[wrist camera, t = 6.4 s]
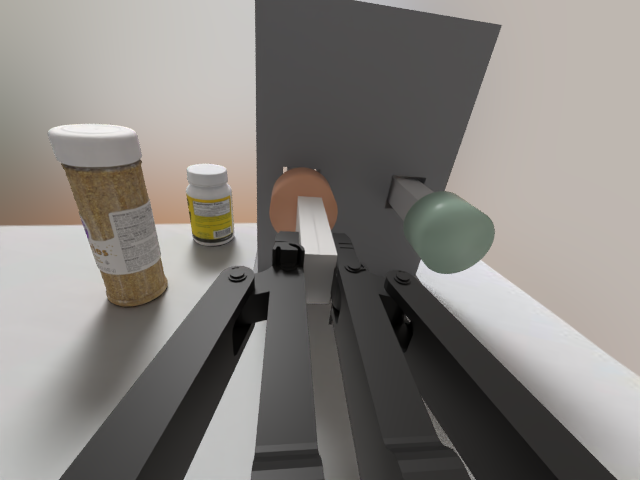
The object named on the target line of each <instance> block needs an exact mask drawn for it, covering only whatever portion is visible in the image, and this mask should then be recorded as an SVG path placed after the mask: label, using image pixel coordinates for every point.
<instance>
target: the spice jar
mask: <svg viewBox="0 0 640 480" xmlns="http://www.w3.org/2000/svg"><path fill="white" fill-rule="evenodd" d="M48 136H49V140H50V143H51V146H52V149H53V151H54V154H55V156H56V159H57V160H58V161H59V162H61V165H62V166H63V169H64V170H65V172H66V176H67V178H68V181H69V183H70V186H71V189H72V192H73V195H74V198H75V201H76V203H77V206H78V209H79V215H80V218H81V221H82V223H83V226H84V229H85V232H86V234H87V238H88V241H89V243H90V246H91V249H92V252H93V255H94V258H95V261H96V264H97V266H98V268H99V269H100V272H101V275H102V278H103V280H104V284H105V286H106V290H107V291H106V294H107V297H108V300H109V301H110V302H111V303H113V304H115V305H119V306H124V307H126V306H137V305H141V304H144V303H147V302H149V301H151V300H153V299H155V298H157V297H158V296H160V295H161V294H162V293H163V292H164V291H165V290H166V288H167V283H168V281H167V278H166V276H165V275H164V271H163V266H162V261H161V252H160V247H159V242H158V237H157V232H156V228H155V223H154V218H153V214H152V209H151V204H150V199H149V197H148V194H147V190H146V186H145V181H144V177H143V173H142V168H141V163H142V161H141V160H140V158H141V157H142V154H141V149H140V144H139V141H138V136H137V134H136V132H135V131H134V130H132V129H130V128H127V127H123V126H116V125H105V124H73V125H63V126H58V127H55V128H52V129H50V130H49V132H48Z"/></svg>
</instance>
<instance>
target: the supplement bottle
mask: <svg viewBox="0 0 640 480" xmlns="http://www.w3.org/2000/svg"><path fill="white" fill-rule="evenodd" d="M187 180H188V182H189V184H190V185H188V187H187V189H186V195H187V201H188V208H189V214H190V220H191V228H192V234H193V239H194V240H195V242H197V243H198V244H201V245H205V246H217V245H222V244H225V243H228V242H229V241H231V240H232V239H233V237H234V220H233V207H232V190H231V187H230V186H229V185H228V184H227V182H228V177H227V169H226V168H225V167H223V166H220V165H216V164H197V165H192V166H189V167H188V168H187Z"/></svg>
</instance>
